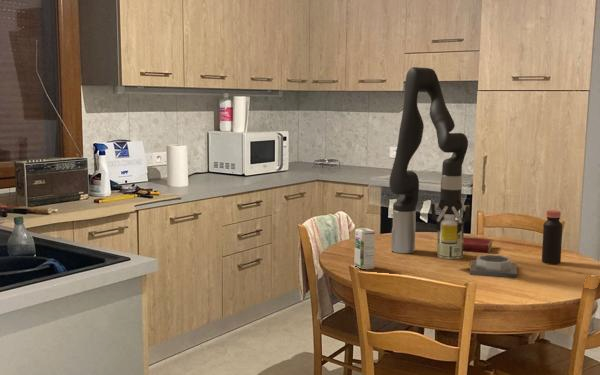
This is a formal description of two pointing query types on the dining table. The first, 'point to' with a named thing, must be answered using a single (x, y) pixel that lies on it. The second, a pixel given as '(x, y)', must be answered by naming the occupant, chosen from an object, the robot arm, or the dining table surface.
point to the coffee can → (451, 247)
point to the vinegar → (552, 238)
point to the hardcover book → (477, 245)
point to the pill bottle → (449, 230)
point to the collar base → (493, 266)
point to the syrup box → (364, 248)
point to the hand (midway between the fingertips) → (449, 231)
